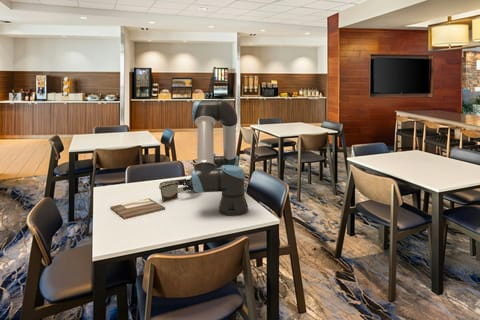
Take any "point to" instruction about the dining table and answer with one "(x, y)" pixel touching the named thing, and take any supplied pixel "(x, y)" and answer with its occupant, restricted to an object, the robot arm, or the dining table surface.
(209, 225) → the dining table surface
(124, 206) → the board
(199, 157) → the robot arm
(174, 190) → the food container
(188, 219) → the dining table surface
